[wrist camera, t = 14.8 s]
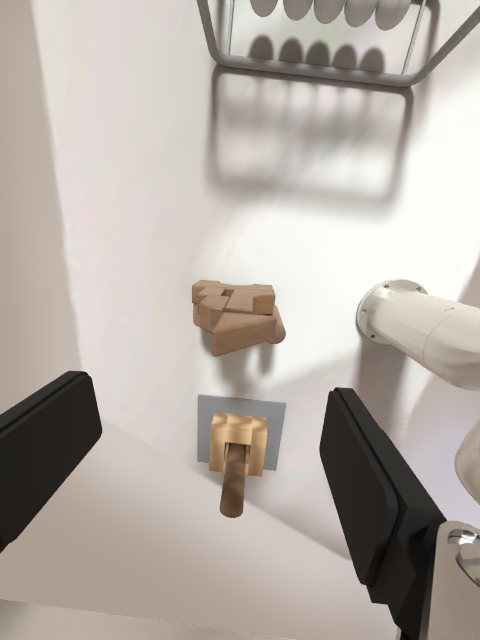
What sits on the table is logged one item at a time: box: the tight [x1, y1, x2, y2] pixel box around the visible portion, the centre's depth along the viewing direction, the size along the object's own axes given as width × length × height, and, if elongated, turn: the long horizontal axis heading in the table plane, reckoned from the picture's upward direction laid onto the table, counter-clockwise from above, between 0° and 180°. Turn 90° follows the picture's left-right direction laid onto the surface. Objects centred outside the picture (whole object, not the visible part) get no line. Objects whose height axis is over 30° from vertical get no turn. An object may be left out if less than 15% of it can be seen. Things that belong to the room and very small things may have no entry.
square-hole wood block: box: [209, 412, 267, 477], centre depth 51 cm, size 12×12×5 cm
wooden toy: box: [192, 280, 286, 356], centre depth 32 cm, size 15×7×25 cm, turn 86°
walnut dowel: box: [220, 443, 246, 518], centre depth 45 cm, size 4×4×16 cm
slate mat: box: [198, 395, 286, 471], centre depth 53 cm, size 20×20×1 cm
